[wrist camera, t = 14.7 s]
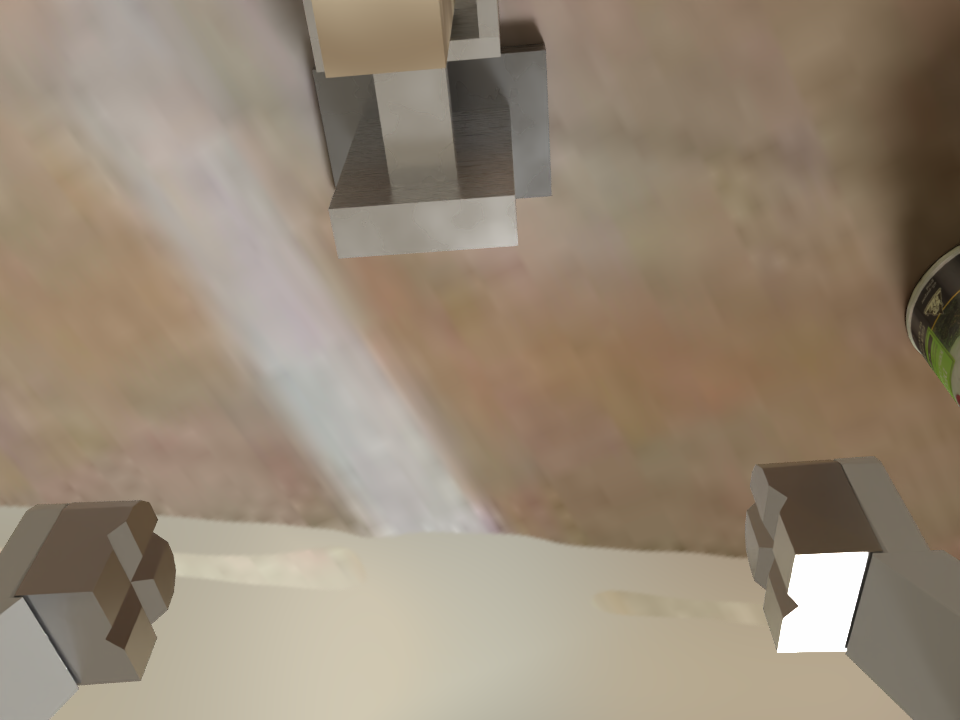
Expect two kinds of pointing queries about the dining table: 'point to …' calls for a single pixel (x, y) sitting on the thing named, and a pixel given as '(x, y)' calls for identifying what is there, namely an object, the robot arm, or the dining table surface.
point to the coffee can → (938, 320)
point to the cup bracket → (437, 143)
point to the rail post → (382, 35)
